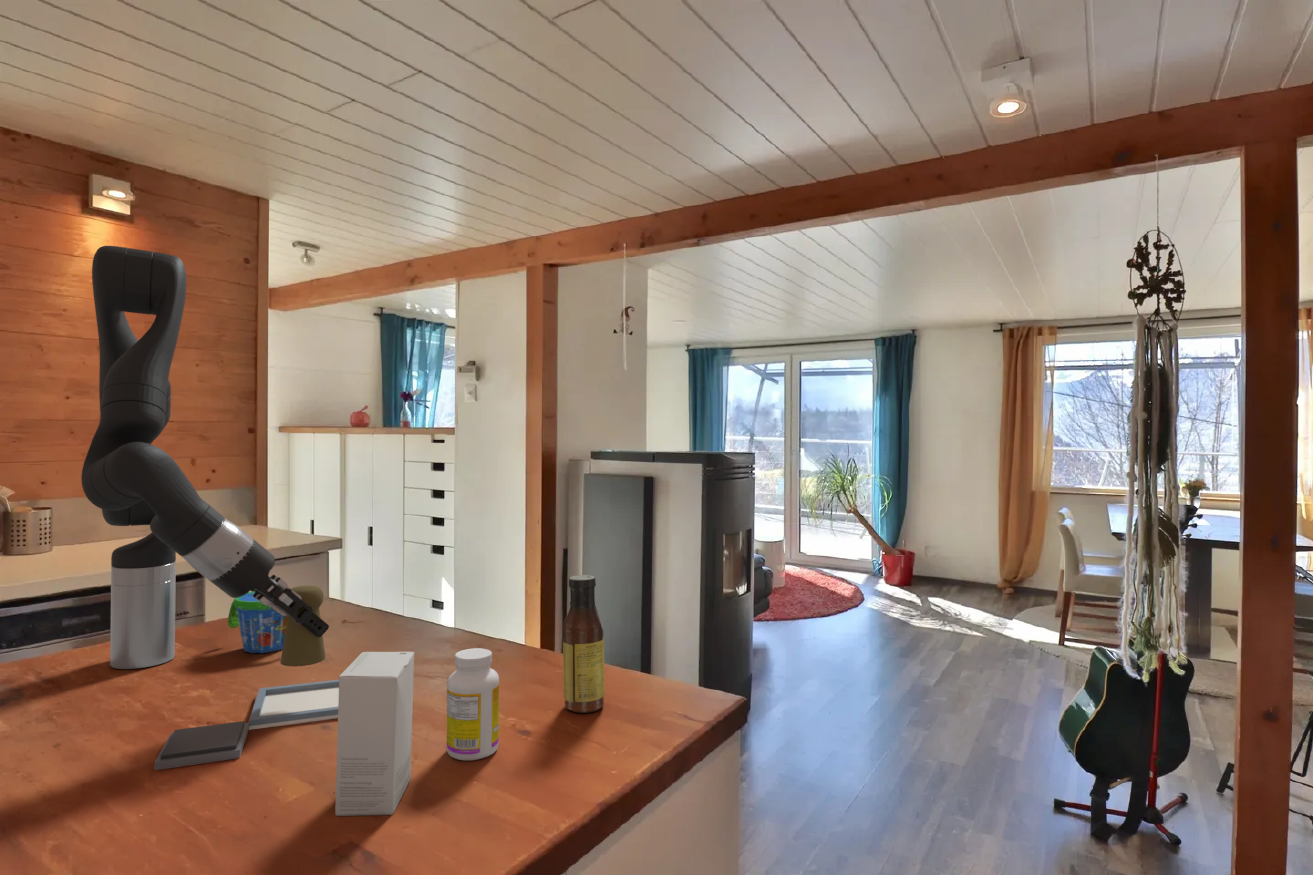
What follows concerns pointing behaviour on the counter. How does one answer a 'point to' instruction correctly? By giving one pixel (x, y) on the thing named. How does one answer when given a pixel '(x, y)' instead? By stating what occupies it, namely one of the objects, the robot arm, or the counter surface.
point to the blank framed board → (295, 704)
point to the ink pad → (203, 745)
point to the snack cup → (257, 624)
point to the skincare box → (374, 733)
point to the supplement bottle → (472, 706)
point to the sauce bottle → (583, 649)
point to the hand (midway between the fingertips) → (317, 628)
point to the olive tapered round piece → (303, 633)
